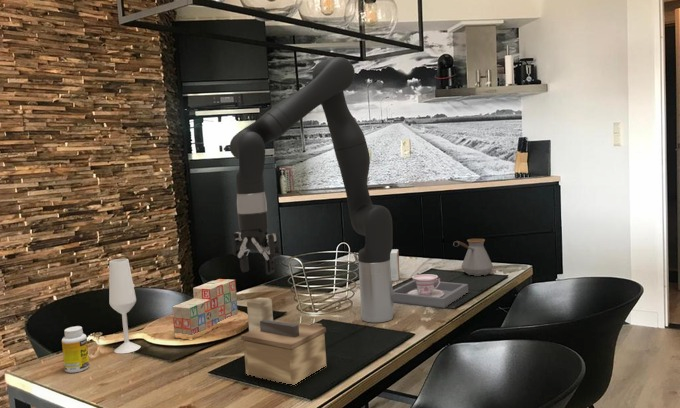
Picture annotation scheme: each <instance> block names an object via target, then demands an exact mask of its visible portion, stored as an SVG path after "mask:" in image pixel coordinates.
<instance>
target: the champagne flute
mask: <svg viewBox="0 0 680 408" xmlns="http://www.w3.org/2000/svg"><path fill="white" fill-rule="evenodd" d="M108 265H109V267H108V268H109V269H108V271H109V273H108V276H109V277H108V278H109V279H108V281H109V282H108V283H109V284H108V285H109V286H108V287H109V288H108V290H109V292H108V293H109V295H108V296H109V298H108V299H109V305H110V307H111V308H112V309H113V310H114V311H116V312H117V313H118V314H120V315H121V319H122V320H121V321H122V328H123V330H122V331H123V340H124V342H123V343H122V344H120V345H118V347H116V348H115V349H114V350H113V352H114V353H116V354H128V353H133V352H136V351H138V350H139V349H141V347H142V346H141V345H139V344H137V343H134V342H132V341H130V337H129V327H128V325H129V323H128V315H127V313H129V312H130V311H131V310H132V309H133V308H134V306H135V304H136V303H137V296H136V291H135V287H134V286H135V285H134V281H133V275H132V271H131V270H132V269H131V267H130V265H131V264H130V261H129V259H128V258H118V259H117V258H115V259H112V260H109V263H108Z"/></svg>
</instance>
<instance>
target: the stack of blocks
mask: <svg viewBox="0 0 680 408" xmlns="http://www.w3.org/2000/svg"><path fill="white" fill-rule="evenodd" d="M236 286H237V285H236V279H228V278H227V279H224V278H223V279H222V278H218V279H216V280H210V281H208V282H206V283H203V284H201V285H198V286H195V287H193V289H192V290H193V298H191V299H189V300H187V301H186V300H185V301H183V302H181V303H179V304H176V305H174V306H172V320H173V330H174V331H173V332H174V334H175V333H182V334H188V335H193V334H195V333H198V332H201V331H204V330H206V329H207V328H210V327H212V326H213V325H215V324H217V323H218V322H220V321H222V320H224V319H226V318H228V317H231V316H234V315H237V314H238V315H239V313H238V300H237V299H238V298H237V297H238V295H237V287H236Z"/></svg>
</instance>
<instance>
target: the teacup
mask: <svg viewBox="0 0 680 408" xmlns="http://www.w3.org/2000/svg"><path fill="white" fill-rule="evenodd" d="M411 278H412V280H414V281H415V283H416V285H417V290H413V291H410V292H408V294H413V295H422V296H432V297H442V296H444V292H443V291H440V290H436V288H437V287H438V286H439V284H440V282H441V278H440V277H439V276H438V275H437V274H429V273H428V274H427V273H424V274H423V273H422V274H416V275H415V274H414V275H413V276H411ZM434 281H438V285H437V286H436V287H435V288H434V283H435V282H434Z"/></svg>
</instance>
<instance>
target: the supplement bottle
mask: <svg viewBox="0 0 680 408" xmlns="http://www.w3.org/2000/svg"><path fill="white" fill-rule="evenodd" d="M61 345H62V346H61V347H62V348H61V349H62V356H63V364H64V365H63V367H64V370H65V372H66V373H71V374H72V373H79V372H83V371H85V370H87V369H88V368H89V367H90V359H89V347H88V338H87V335H86V334H85V333H84V331H83V327H82V326H80V325H76V326H70V327H67V328H65V329H64V336H63V337H62V339H61Z"/></svg>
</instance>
